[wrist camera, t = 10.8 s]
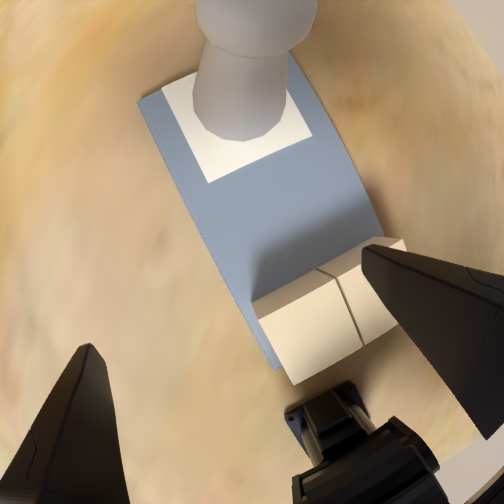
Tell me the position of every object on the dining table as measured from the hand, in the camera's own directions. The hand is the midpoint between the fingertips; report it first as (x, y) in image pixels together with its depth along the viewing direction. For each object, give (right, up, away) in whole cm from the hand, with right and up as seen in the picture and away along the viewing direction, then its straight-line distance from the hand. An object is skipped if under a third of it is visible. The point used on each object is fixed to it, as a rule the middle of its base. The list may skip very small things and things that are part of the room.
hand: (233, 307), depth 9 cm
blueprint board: (+2, +5, +13) cm, 14 cm away
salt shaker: (-1, +11, +11) cm, 16 cm away
